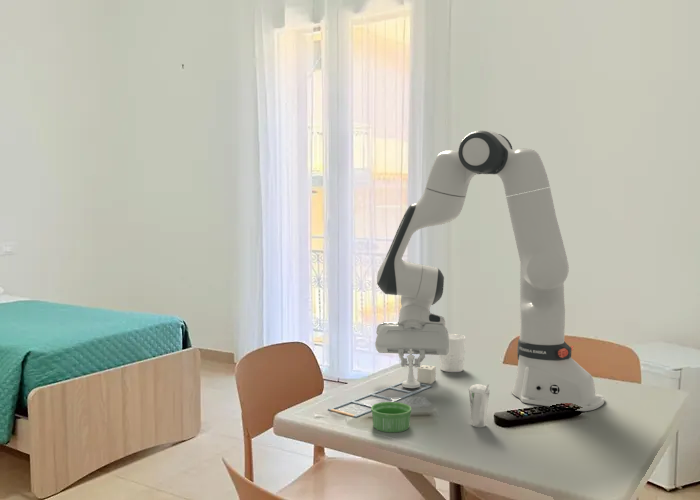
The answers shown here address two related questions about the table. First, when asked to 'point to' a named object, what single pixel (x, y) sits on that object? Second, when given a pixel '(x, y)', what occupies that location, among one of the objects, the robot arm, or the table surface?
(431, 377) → the die
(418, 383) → the chess piece
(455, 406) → the table surface
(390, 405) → the ramekin
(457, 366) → the white cup
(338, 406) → the ladder
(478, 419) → the milkshake
